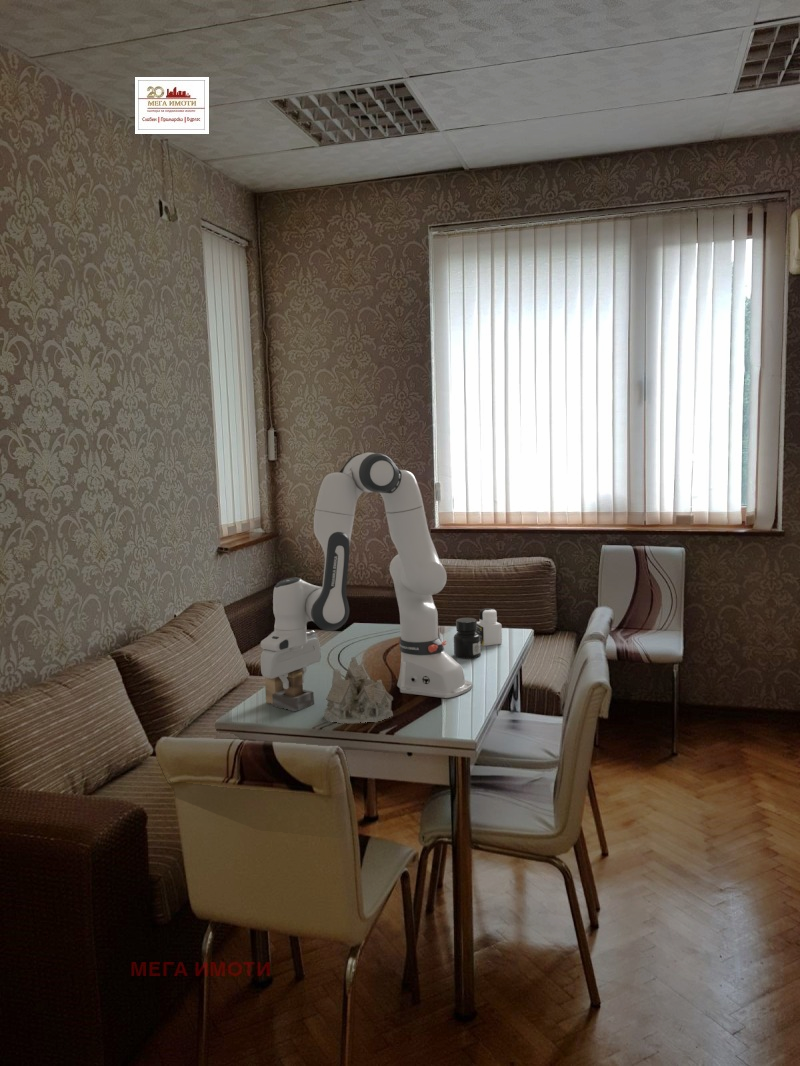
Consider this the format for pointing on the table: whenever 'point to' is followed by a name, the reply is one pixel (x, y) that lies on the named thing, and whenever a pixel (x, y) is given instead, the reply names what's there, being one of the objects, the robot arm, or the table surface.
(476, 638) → the ink bottle
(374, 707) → the ceramic cottage
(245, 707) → the table surface
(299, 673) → the small wooden block
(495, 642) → the medicine bottle
